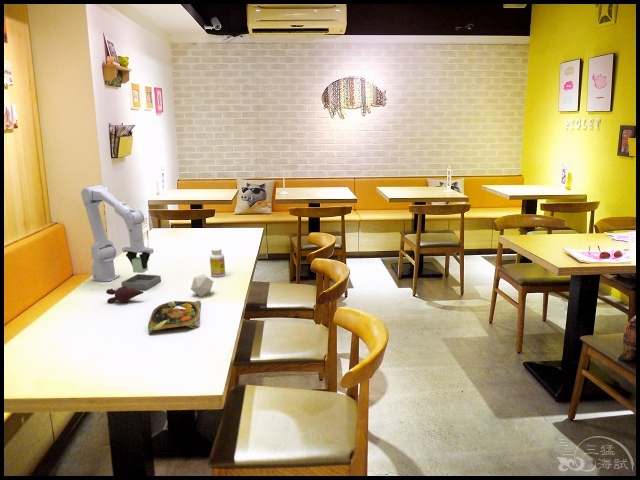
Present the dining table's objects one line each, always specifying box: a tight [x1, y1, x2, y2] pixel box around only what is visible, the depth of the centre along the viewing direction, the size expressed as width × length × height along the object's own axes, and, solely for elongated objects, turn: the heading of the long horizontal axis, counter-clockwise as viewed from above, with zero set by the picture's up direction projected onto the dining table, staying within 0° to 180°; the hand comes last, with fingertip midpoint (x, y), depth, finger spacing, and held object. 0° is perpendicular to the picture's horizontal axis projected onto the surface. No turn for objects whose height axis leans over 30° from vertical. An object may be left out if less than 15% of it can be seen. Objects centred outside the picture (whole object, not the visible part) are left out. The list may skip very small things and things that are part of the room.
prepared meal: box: [147, 300, 201, 335], centre depth 185 cm, size 28×4×18 cm
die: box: [190, 273, 214, 297], centre depth 208 cm, size 8×9×10 cm
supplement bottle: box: [209, 247, 226, 278], centre depth 232 cm, size 7×7×13 cm
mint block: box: [131, 256, 149, 274], centre depth 220 cm, size 4×4×6 cm
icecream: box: [105, 286, 144, 304], centre depth 202 cm, size 7×7×15 cm
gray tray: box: [120, 273, 162, 292], centre depth 222 cm, size 12×12×3 cm
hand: (140, 268), depth 220 cm, fingers closed on mint block, 4 cm apart
